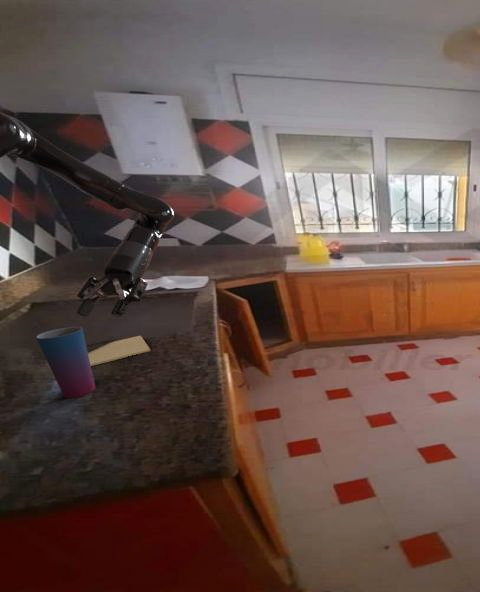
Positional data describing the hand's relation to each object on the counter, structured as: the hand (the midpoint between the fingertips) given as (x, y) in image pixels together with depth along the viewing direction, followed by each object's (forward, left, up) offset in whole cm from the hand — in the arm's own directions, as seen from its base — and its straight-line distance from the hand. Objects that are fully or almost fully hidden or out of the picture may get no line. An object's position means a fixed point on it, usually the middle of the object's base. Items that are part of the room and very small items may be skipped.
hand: (99, 315), depth 77 cm
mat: (-13, +13, -16) cm, 24 cm away
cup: (-1, -9, -16) cm, 18 cm away
